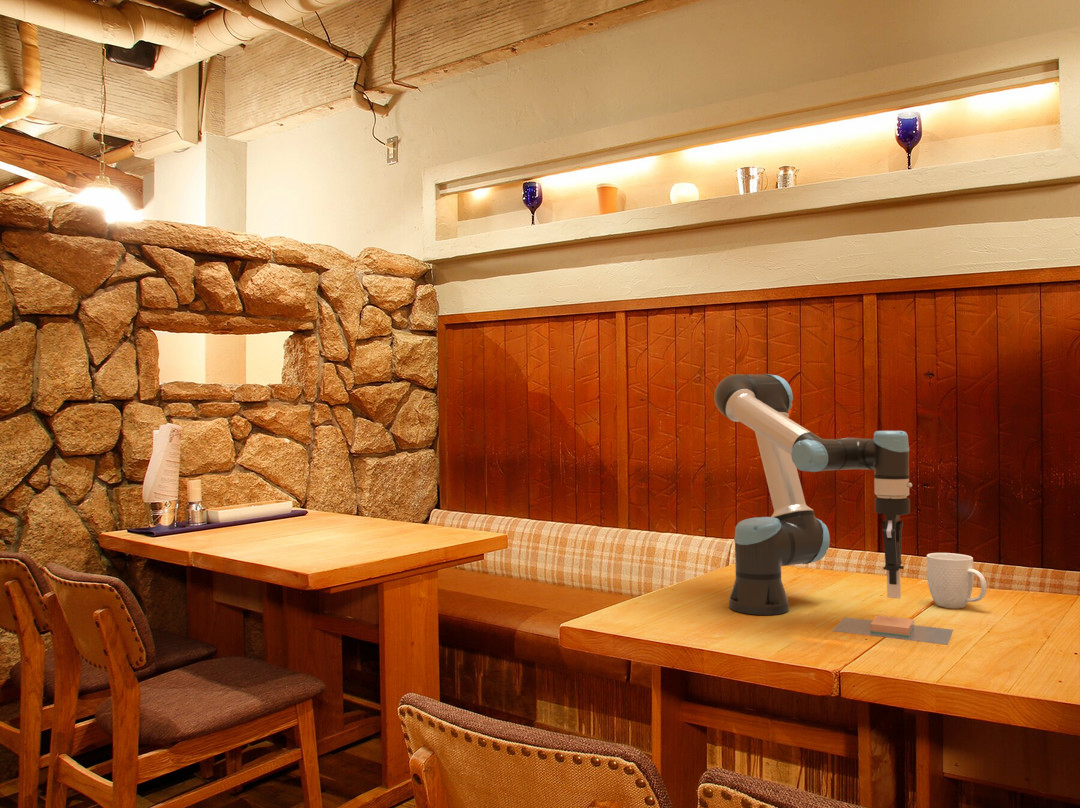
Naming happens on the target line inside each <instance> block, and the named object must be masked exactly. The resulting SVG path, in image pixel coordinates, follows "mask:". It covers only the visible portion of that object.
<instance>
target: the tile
mask: <svg viewBox="0 0 1080 808" xmlns="http://www.w3.org/2000/svg"><path fill="white" fill-rule="evenodd" d="M872 620H873V621H872V623H871V633H878V634H886V635H894V636H903V637H909V636H910V634H911V632H912V631H913V629H914V625H915V619H914V618H906V617H897V616H886V615H876V616H875V617H874V618H873V619H872Z"/></svg>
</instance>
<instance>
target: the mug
mask: <svg viewBox="0 0 1080 808" xmlns="http://www.w3.org/2000/svg"><path fill="white" fill-rule="evenodd" d="M974 575H975V576H976V577H977V578H978V579H979V584H980V586H981V587H980V588H981V589H980V590H981V591H980V594H979V595H978V596H977V597H974V598H973V597H971V596H972V593H973V589H974V587H973V586H974ZM926 577H927V584H928V588H929V593H930V595H931V597H932V600H933V602H934V603H935V605H936V606H938V607H941V608H945V609H963V608H965V607H966V606H967V604H968V603H974V602H975V603H976V602H979V601H981V600H983V599H984V598H985V596H986V594H987V589H988V588H987V587H988V585H987V581H986V578H985V576H984V575H983V574H982V573H981V572H980V571H979V570H977V569H974V557H972V556H971V555H967V554H961V553H953V552H952V553H951V552H932V553H928V554H926Z"/></svg>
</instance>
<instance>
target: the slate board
mask: <svg viewBox="0 0 1080 808" xmlns="http://www.w3.org/2000/svg"><path fill="white" fill-rule="evenodd" d="M873 620H874V619H872V620H870V619H864V618H863V619H861V618H854V617H846V616H844V617H843V618H842V619H841V620H840V621H839V622H838V624H836V626H835V627H834V628H833V629H832V630H831V631H832V632H839V633H846V634H855V635H862V636H863V635H865V636H870V637H880V638H887V639H888V638H889V639H896V640H904V641H912V642H920V643H926V644H927V643H929V644H937V645H945V646H947V645H948V646H949V643H950V640H951V637H952V634H953V632H954V629H952V628H951V629H950V628H944V627H943V628H941V627H934V626H925V625H915V624H914V629H913V631H912V632H911V634H910V636H909V637H903V636H894V635H886V634H878V633H871V623H872V621H873Z"/></svg>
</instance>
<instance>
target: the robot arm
mask: <svg viewBox="0 0 1080 808" xmlns="http://www.w3.org/2000/svg"><path fill="white" fill-rule="evenodd" d="M713 397H714V398H713V399H714V400H713V401H714V405H715V407H716V408H717V411H718V412H720V413H721V414H722V415H723V416H724V417H726V418H727V419H728V420H730V421H732V422H734V423H735V422H736V423H738V422H739V423H741V424H743V425H744V426H747V428H749V429H751V430H752V431H753V432H754V434H755V438H756V442H757V447H758V449H759V454H760V458H761V462H762V466H763V471H764V474H765V478H766V483H767V487H768V491H769V494H770V495H769V496H770V499H771V503H772V508H773V513H772V514H771V516H760V517H757V516H756V517H750V518H746V519H743V520H740V521H739V522H738V523H737V524H736V526H735V528H734V529H735V531H734V538H733V539H734V548H735V549H734V553H735V566H734V567H735V578H734V582H733V586H732V589H731V593H730V595H729V599H728V601H729V602H728V603H729V605H728V607H729V609H731V610H732V611H734V612H737V613H740V614H745V615H746V614H748V615H757V616H771V615H772V616H774V615H775V616H776V615H783V614H785V613H787V612H789V611H790V605H789V604H790V602H789V598H788V596H787V593H786V590H785V587H784V584H783V582H782V581H783V580H782V567H786V566H795V565H808V564H811V563H816V562H818V561H821V560H822V559H823V558H824V557H826V554H827V552H828V550H829V548H830V542H831V537H830V531H829V528H828V526H827V524H825V523H824V521H822V520H821V519H819V518H817V517H816V515H815V511H814V509H813V508H811V507H809V506H808V505H807V503H806V500H805V496H804V495H805V494H804V492H803V488H802V484H801V481H800V477H799V473H798V470H799V471H803V472H810V473H817V472H826V471H841V470H842V471H844V470H846V471H847V470H870V471H871V470H872V471H874V472H873V473H874V479H873V481H874V485H873V486H874V489H873V490H874V495H876V496H875V498H874V511H875V512H876V513H877V514H880V515H885V519H884V521H882V534H883V545H884V546H883V547H884V563H885V565H884V566H883V567H882V570H885V571H886V593H887V595H886V596H887V598H888V599H897V600H900V599H901V597H902V595H901V593H902V592H901V589H902V588H901V586H902V585H901V570H904V567H905V566H904V565H902V563H903V562H902V539H903V528H904V522H903V520H902V521H901V516H904V515H909V514H910V513H911V500H910V498H909V497H908V496H910V488H912V487H913V483H912V482H910V445H909V436H908V433H907V431H904V430H876V431H874V433H873V438H862V437H861V438H860V437H845V438H844V437H843V438H826V439H825V438H821V437H820V436H818V435H816V434H815V433H814V432H812V431H811V430H808V429H807V428H805V427H803V426H802V425H800V424H799V423H797V422H795V421H794V420H792V419H790V418H789V417H790V415H789V411H790V410H791V409H792V406H793V403H792V402H793V400H794V396H793V391H792V387H791V385H790V384H789V383H788V381H787V380H786V379H785V378H783V377H781V376H779V375H778V374H777V375H776V374H769V373H762V374H761V373H760V374H750V373H749V374H748V373H747V374H744V373H743V374H741V373H737V374H734V373H733V374H730V375H728V376H726V377H725V378H723V379H721V381H719V383H718V384H717V386H716V387H715V391H714V395H713Z"/></svg>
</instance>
